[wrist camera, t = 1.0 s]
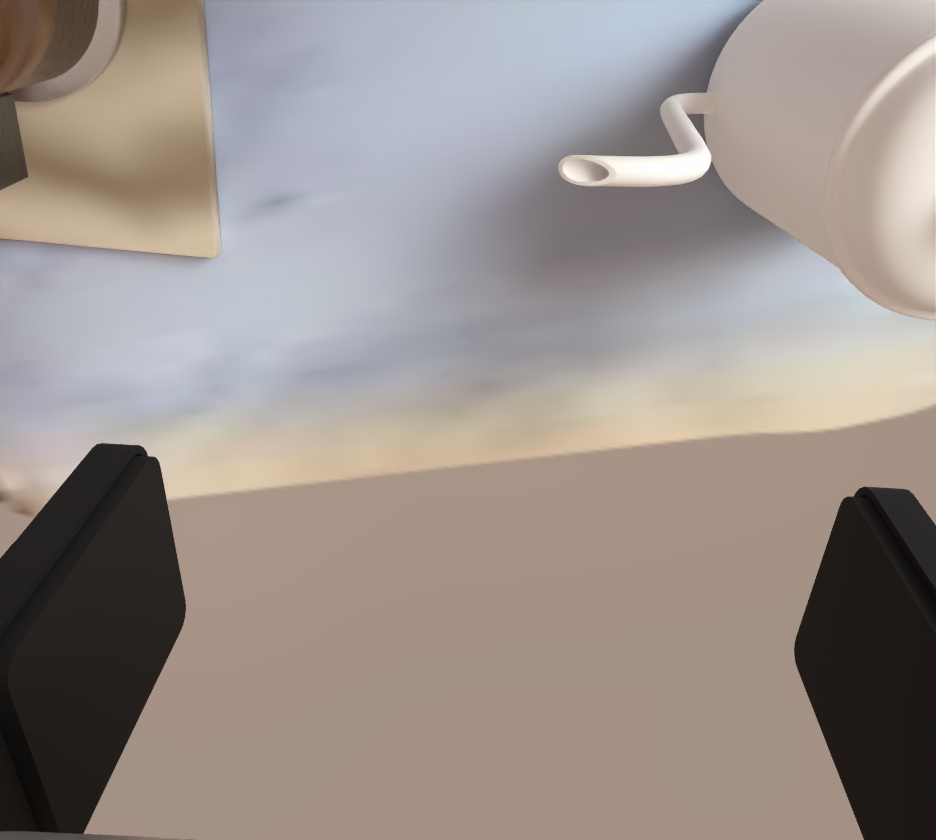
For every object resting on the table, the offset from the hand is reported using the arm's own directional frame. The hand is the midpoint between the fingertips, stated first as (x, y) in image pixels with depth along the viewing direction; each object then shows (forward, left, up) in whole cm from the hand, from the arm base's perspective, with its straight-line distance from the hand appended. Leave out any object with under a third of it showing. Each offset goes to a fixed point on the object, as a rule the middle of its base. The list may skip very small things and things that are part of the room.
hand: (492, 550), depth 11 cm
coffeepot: (-2, +14, -32) cm, 35 cm away
